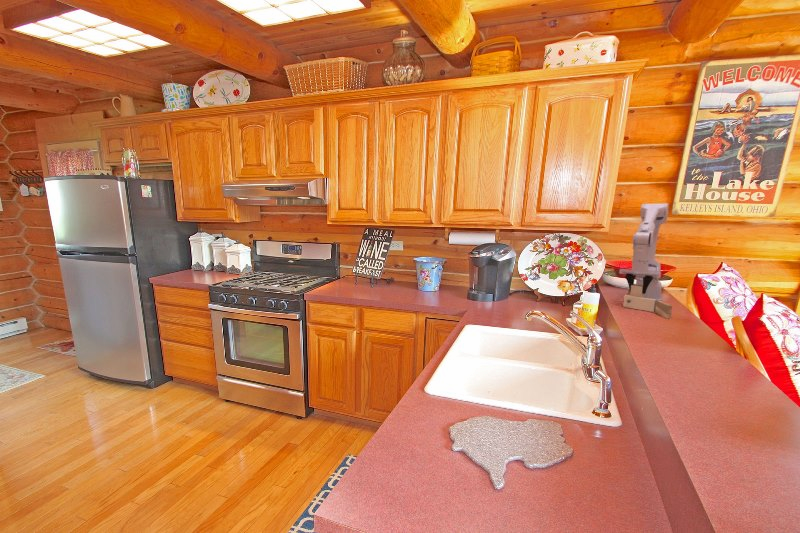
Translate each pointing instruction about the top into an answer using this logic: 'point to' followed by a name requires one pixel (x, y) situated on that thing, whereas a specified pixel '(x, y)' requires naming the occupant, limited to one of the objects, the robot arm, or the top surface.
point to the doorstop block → (636, 290)
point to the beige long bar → (661, 308)
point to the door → (639, 303)
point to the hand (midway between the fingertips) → (637, 292)
